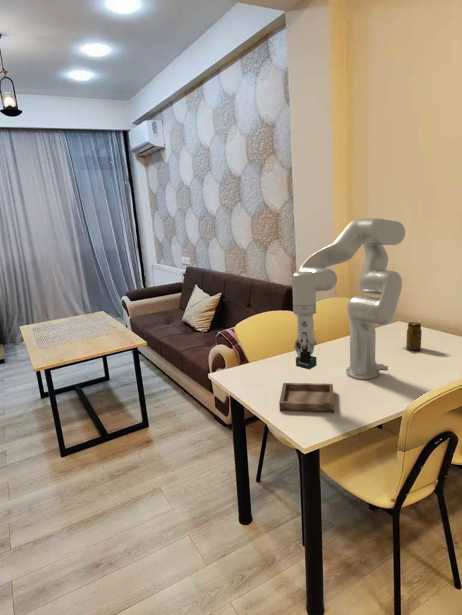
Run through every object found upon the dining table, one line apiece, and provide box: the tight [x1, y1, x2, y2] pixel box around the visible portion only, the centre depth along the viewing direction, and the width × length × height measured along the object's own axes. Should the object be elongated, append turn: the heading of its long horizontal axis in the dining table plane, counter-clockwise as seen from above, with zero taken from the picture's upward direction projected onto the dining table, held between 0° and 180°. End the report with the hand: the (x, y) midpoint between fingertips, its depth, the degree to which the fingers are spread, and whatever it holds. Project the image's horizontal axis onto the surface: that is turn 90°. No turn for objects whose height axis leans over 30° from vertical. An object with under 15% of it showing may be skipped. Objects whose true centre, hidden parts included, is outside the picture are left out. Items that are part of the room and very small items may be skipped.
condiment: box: [401, 321, 428, 354], centre depth 183 cm, size 7×8×12 cm
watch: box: [294, 338, 318, 370], centre depth 140 cm, size 6×8×11 cm
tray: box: [278, 382, 335, 414], centre depth 144 cm, size 18×16×3 cm
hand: (305, 357), depth 141 cm, fingers closed on watch, 8 cm apart
